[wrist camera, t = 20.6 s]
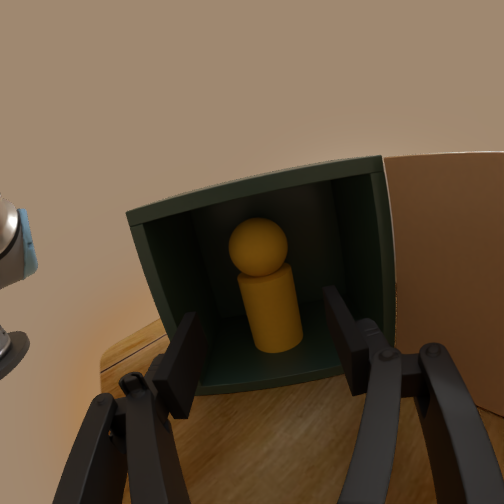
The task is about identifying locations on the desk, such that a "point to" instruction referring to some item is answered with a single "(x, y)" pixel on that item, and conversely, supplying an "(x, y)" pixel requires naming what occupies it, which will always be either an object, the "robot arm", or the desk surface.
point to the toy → (266, 284)
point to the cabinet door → (452, 262)
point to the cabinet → (298, 257)
